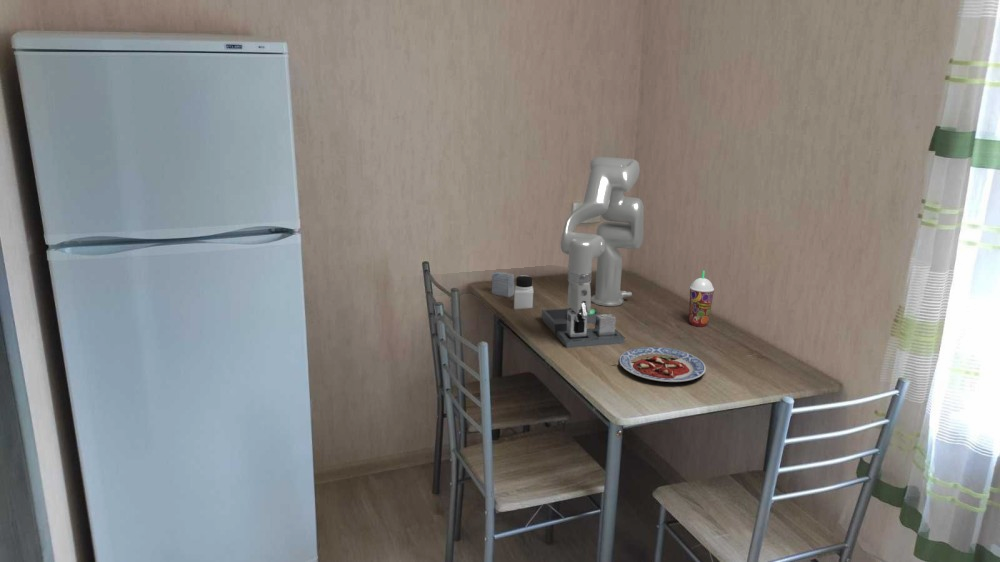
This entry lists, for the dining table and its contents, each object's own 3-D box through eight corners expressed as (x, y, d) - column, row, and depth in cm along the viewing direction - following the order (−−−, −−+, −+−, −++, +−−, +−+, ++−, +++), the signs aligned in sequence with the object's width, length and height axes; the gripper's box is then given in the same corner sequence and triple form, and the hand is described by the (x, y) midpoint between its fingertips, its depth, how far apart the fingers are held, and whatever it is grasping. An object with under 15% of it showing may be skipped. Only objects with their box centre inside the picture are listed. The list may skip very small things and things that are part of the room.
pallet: (612, 335, 246) (612, 327, 245) (624, 346, 237) (624, 337, 236) (556, 339, 242) (557, 331, 241) (566, 350, 232) (566, 342, 232)
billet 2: (609, 336, 243) (611, 313, 240) (614, 340, 239) (615, 317, 237) (593, 337, 241) (595, 314, 239) (598, 341, 238) (599, 318, 235)
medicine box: (514, 295, 287) (514, 274, 284) (508, 298, 283) (508, 276, 281) (497, 291, 291) (498, 271, 288) (491, 294, 287) (492, 273, 285)
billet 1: (582, 331, 240) (583, 309, 237) (586, 336, 236) (587, 313, 234) (565, 333, 238) (566, 310, 236) (569, 337, 235) (571, 314, 232)
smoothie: (697, 329, 253) (703, 275, 248) (681, 322, 260) (686, 269, 255) (715, 326, 257) (721, 272, 251) (699, 318, 264) (704, 266, 258)
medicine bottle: (533, 310, 270) (534, 279, 266) (514, 309, 270) (514, 279, 266) (532, 304, 277) (533, 274, 273) (514, 303, 277) (514, 273, 273)
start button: (591, 317, 260) (592, 307, 259) (595, 320, 256) (596, 311, 255) (582, 317, 259) (583, 308, 258) (586, 321, 256) (586, 311, 255)
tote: (570, 319, 260) (571, 308, 259) (585, 334, 247) (585, 322, 245) (541, 321, 258) (542, 309, 257) (554, 336, 244) (555, 324, 243)
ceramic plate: (678, 396, 203) (679, 386, 202) (602, 370, 219) (603, 360, 218) (719, 369, 221) (720, 360, 220) (646, 347, 237) (647, 338, 237)
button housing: (594, 318, 262) (595, 308, 261) (601, 325, 256) (602, 314, 254) (576, 319, 260) (576, 309, 259) (582, 326, 254) (583, 315, 253)
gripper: (600, 283, 225) (596, 338, 230) (581, 269, 240) (578, 320, 245) (577, 285, 223) (574, 340, 228) (560, 270, 238) (557, 322, 244)
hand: (576, 329), depth 237 cm, fingers closed on billet 1, 4 cm apart
